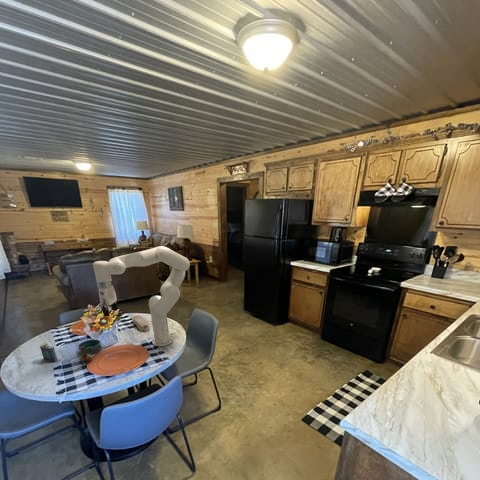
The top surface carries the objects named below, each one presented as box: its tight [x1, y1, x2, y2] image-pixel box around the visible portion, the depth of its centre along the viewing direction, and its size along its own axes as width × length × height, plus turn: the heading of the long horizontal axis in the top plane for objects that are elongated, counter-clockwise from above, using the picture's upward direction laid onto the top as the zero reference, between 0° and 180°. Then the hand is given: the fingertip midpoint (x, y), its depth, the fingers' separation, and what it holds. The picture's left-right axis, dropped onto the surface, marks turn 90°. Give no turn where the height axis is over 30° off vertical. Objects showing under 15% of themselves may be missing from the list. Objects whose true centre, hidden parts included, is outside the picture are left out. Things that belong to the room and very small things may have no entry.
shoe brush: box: [131, 315, 150, 332], centre depth 197 cm, size 24×8×5 cm, turn 37°
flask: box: [39, 343, 58, 363], centre depth 151 cm, size 9×3×11 cm, turn 74°
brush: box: [78, 346, 92, 365], centre depth 150 cm, size 6×6×10 cm
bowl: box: [77, 339, 103, 355], centre depth 163 cm, size 12×12×4 cm
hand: (110, 313), depth 150 cm, fingers open, 9 cm apart
